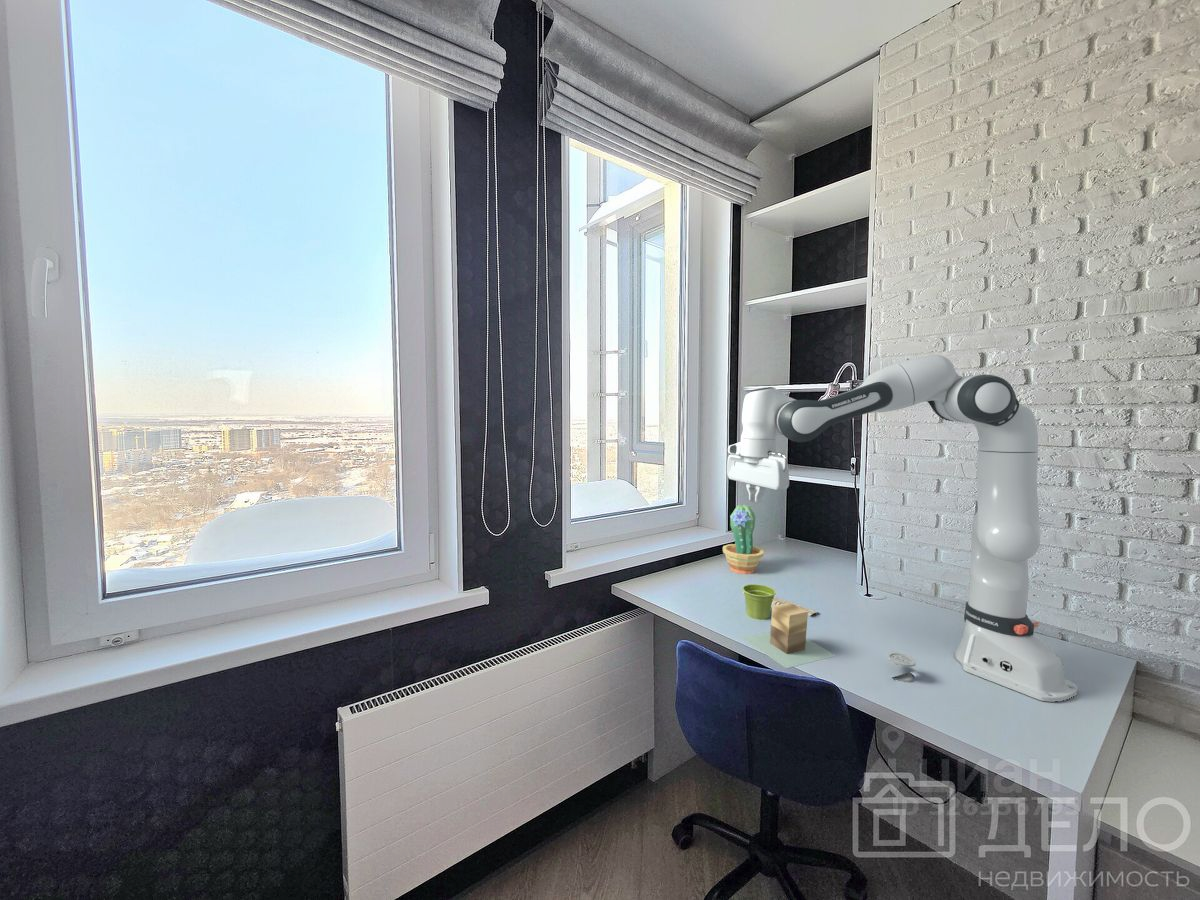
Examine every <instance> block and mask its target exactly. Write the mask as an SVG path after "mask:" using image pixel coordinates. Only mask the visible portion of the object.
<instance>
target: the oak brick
mask: <svg viewBox="0 0 1200 900" xmlns="http://www.w3.org/2000/svg"><path fill="white" fill-rule="evenodd" d="M770 617H771V619H770V620H771V622H770V626H771V625H772V626H774V627H776V628H777V629H779V630H781V631H783V632H784V633H786V634H788V635H790V634H795V633H799V632H804V631H806V632H807V630H808V629H807V627H808V612H807V611H805V610H803V609H801V608H799V607H797V606H795V605H793V604H791V603H786V604H781V605H776V606H774V605H771V616H770Z"/></svg>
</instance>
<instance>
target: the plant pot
mask: <svg viewBox="0 0 1200 900" xmlns="http://www.w3.org/2000/svg"><path fill="white" fill-rule="evenodd" d="M741 589H742V592H743V591H744V594H743V595H744V600H745V609H746V611H745V612H746V615H747V616H748V617H749V618H751V619H754V620H758V621H759V620H761V621H763V620H767V619H769V618H770V613H771V610H772V605H771V604H772V599H773V598H774V596H776V594H777V591H776V590H775V589H774V588H772V587H770V586H768V585H764V584H757V583H752V584H751V583H750V584H746V585H743V586H742V588H741Z"/></svg>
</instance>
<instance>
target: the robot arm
mask: <svg viewBox="0 0 1200 900" xmlns="http://www.w3.org/2000/svg"><path fill="white" fill-rule="evenodd" d="M1016 396H1017V395H1016V392H1015V390H1014V388H1013V386H1012V385H1011V383H1009V381H1008V380H1006V379H1005V378H1003V377H1000V376H997V375H995V374H994V375H993V374H979V375H977V374H976V375H972V374H971V375H966V376H965V375H964V376H961V375H959V374H958V373H957V372H956V368H955V366H954V364H953V362H952V361H951V360H950V359H949V358H948V357H946V356H944V355H940V354H930V355H925V356H919V357H915V358H909V359H907V360H902V361H900V362H896V363H893V364H890V365H888V366H884V367H882V368H880V369H878V370H877V371H874V372H873V373H870V374H869V375H867V376H866V378H865V379H864V380H863V382H862V384H860V385H859V386H857V387H855V388H853V389H851V390H848V391H845V392H842V393H840V394H837V395H834V396H831V397H828V398H825V399H819V400H812V399H811V400H810V399H795V398H793V397H789V396H788V395H786V394H784V393H782V392H781V391H779V390H778V389H776V388H775V387H772V386H768V387H767V386H766V387H761V388H754V389H751V390H750V391H748V392H747V393H746V394H745V395H744V398H743V402H742V412H741V425H742V432H741V434H740V441H739V442H736V443H734V444H730V445H728V447H727V453H728V454H729V455H728V456H727V460H726V461H727V464H726V475H727V478H728V479H729V480H732V481H735V482H741V483H745V485H746V486H745V487H746V491H747V492H748V500H749V501H751V502H754V503H756V504H757V503H762V502H763V501H762V499H763V497H762V496H763V495H764V494H765V491H766V489H771V490H774V491H786V490H787V489H788V488H789V487H790V473H789V471H790V470H789V463H788V458H787V457H786V456H785V454H784V453H782V452H776V446H777V437H778V436H779V435H780V436H784V437H785V438H786V439H788V440H790V441H792V442H795V443H806V442H810V441H812V440H814V439H815V438H817V437H818V436H819V435H821V434H822V433H823V432H824V431H826V430H827V429H828V428H830V427H831V426H833V425H837V424H839V423H842V422H845V421H848V420H851V419H854V418H856V417H859V416H863V415H866V414H871V413H872V414H873V413H885V412H886V413H887V412H892V411H897V410H902V409H905V408H909V407H912V406H915V405H918V404H921V403H924V402H925V403H926V402H927V403H928V404H929V406H930V408H931V410H932V411H933V413H934V414H935V415H936V416H938V417H939V418H941V419H943V420H945V421H949V422H957V423H962V424H963V423H965V424H971V423H972V424H973V425H974V428H976V431H977V436H978V442H977V443H978V444H977V461H976V462H977V463H976V469H977V470H976V494H977V512H976V513H975V514H974V516H973V518H972V522H971V523H972V525H971V538H970V539H971V541H970V543H971V545H970V574H969V575H970V576H969V589H968V597H967V601H966V602H965V606H964V608H965V609H964V615H963V620H964V621H963V622H964V628H963V631H962V632H963V633H962V635H961V639H960V641H959V645H958V647H957V649H956V650H955V652H954V656H955V659H956V660H957V661H958V662H959V663H960V664H961V665H962V666H961V667H962V670H963V671H965V672H967V673H969V674H972V675H975V676H977V677H978V678H982V679H985V680H987V681H990V682H991V683H995V684H998V685H1000V686H1003V687H1005V688H1008V689H1010V690H1013V691H1015V692H1018V693H1020V694H1023V695H1026V696H1029V697H1031V698H1033V699H1036V700H1039V701H1043V702H1048V703H1050V702H1052V703H1053V702H1055V701H1058V702H1064V701H1067V700H1066V699H1068V700H1070V699H1072V698H1074V697H1075V696H1074V695H1075V694H1076V693H1077V694H1078V687H1077V684H1076V683H1074V682H1073V681H1071V680H1069V679H1067V678H1066V676H1065V667H1064V664H1063V662H1062V661H1063V660H1061V658H1060V657H1059V656H1058V655H1057V654H1055V653H1054V652H1053V650H1052V649H1050V648H1049V647H1048V646H1047V645H1046V643H1044V642H1043V641H1042V640H1041V639H1040V638H1039V637H1038V636H1037V635H1036V634H1035V633H1034V632H1035V631H1034V630H1035V628H1037V627H1039V623H1040V622H1039V621H1034V622H1032V620H1031V619H1030V618H1029V616H1028V614H1027V609H1028V598H1029V589H1030V588H1029V587H1030V579H1029V559H1031V558H1032V557H1034V556H1035V555H1036V553H1037V552H1038V551H1039V549H1040V548H1039V547H1040V545H1041V544H1040V543H1041V536H1040V535H1041V534H1040V532H1041V531H1040V510H1039V499H1038V498H1039V497H1038V487H1037V486H1038V466H1039V465H1038V463H1039V462H1038V460H1039V434H1038V427H1037V421H1036V420H1037V419H1036V416H1035V414H1034V411H1033V410H1031V409H1030V407H1027V406H1026V405H1025V406H1024V405H1022V404H1020V402H1019V400H1018V398H1017V397H1016ZM1077 694H1076V695H1077ZM1073 696H1074V697H1073ZM1071 697H1072V698H1071ZM1069 698H1070V699H1069ZM1063 700H1064V701H1063Z"/></svg>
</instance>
